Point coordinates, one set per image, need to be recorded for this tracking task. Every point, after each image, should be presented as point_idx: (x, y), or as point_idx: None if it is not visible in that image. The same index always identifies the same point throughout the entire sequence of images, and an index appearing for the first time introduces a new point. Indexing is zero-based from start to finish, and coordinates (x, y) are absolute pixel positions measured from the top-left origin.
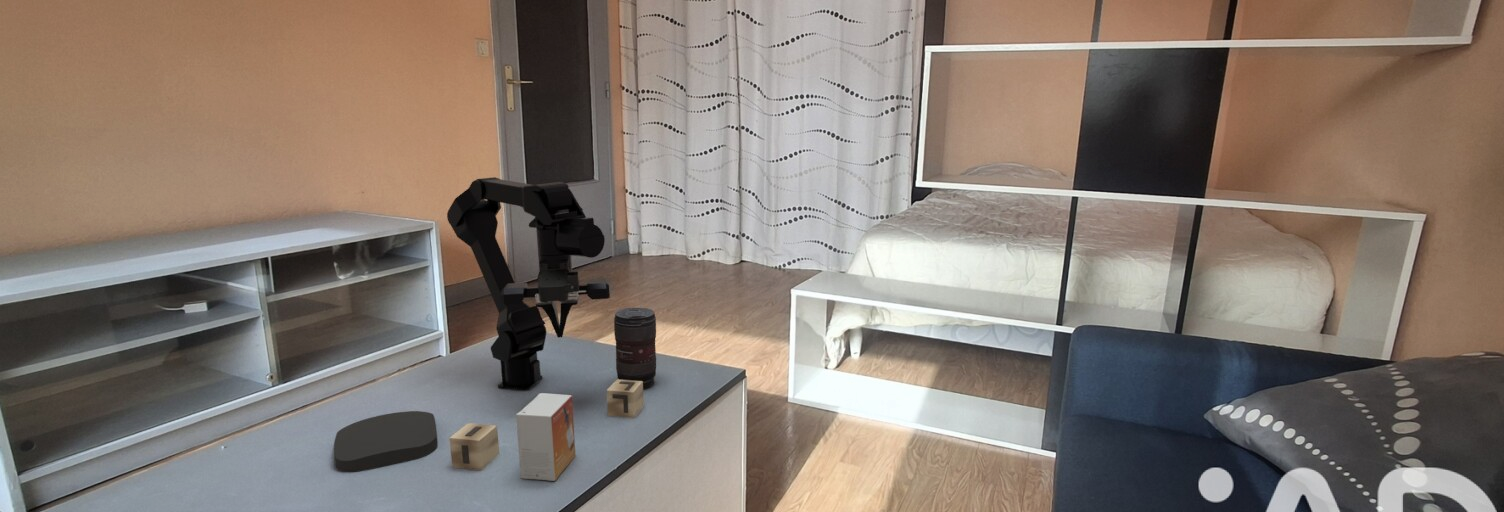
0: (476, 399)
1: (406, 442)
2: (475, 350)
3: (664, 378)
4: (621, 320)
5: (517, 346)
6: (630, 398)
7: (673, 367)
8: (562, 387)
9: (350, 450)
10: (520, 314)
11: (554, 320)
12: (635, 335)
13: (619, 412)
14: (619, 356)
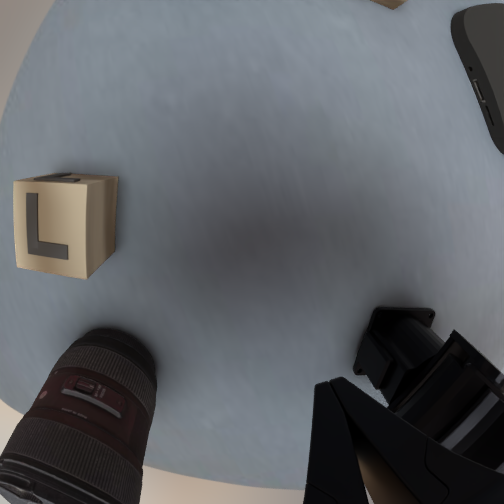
0: (459, 253)
1: (489, 22)
2: None
3: None
4: (63, 495)
5: (459, 363)
6: (32, 178)
7: None
8: (296, 336)
9: None
10: (493, 457)
11: (406, 454)
12: (28, 432)
13: (82, 175)
14: (111, 392)
